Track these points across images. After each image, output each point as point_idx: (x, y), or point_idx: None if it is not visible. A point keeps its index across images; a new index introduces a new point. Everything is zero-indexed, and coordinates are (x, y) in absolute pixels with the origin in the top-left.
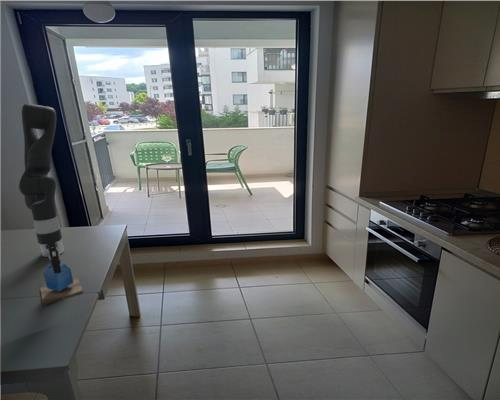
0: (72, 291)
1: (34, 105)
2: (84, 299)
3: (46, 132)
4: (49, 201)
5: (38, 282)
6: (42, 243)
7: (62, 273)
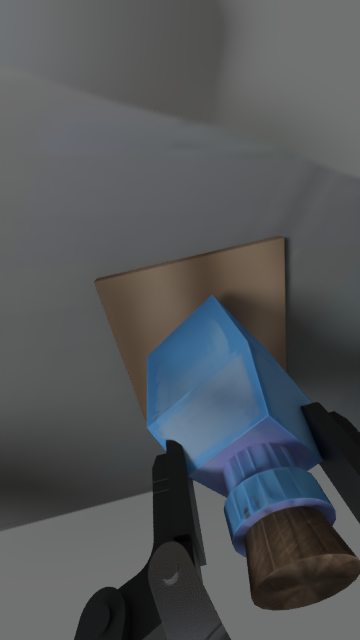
0: (261, 289)
1: None
2: (351, 225)
3: None
4: None
5: (76, 433)
6: None
7: (291, 383)
